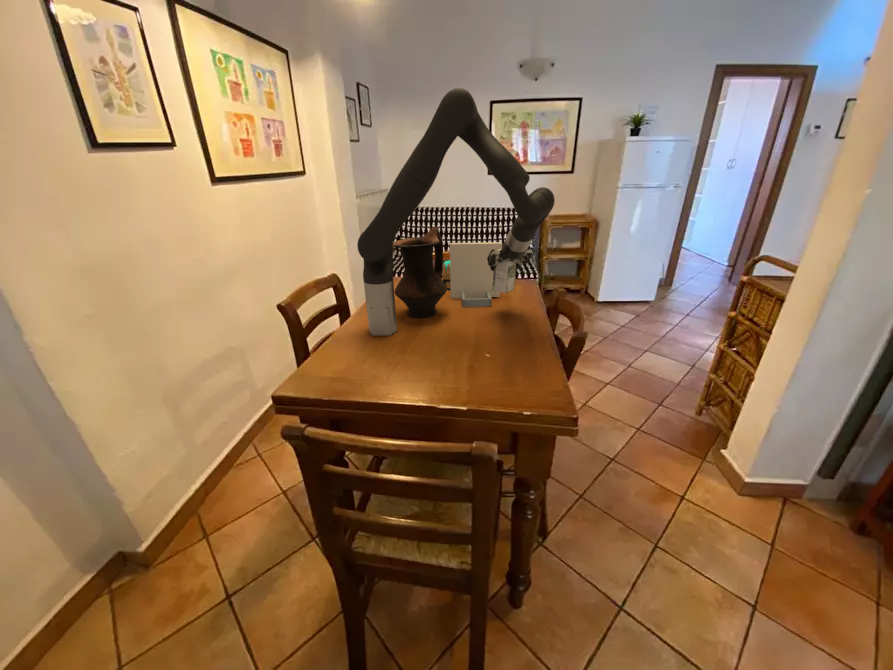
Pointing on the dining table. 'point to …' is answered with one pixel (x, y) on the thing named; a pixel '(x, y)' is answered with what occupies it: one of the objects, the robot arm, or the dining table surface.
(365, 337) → the dining table surface
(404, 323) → the dining table surface
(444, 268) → the ammunition clip
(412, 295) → the jug
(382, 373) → the dining table surface
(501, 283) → the syrup box
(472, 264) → the wall holder
